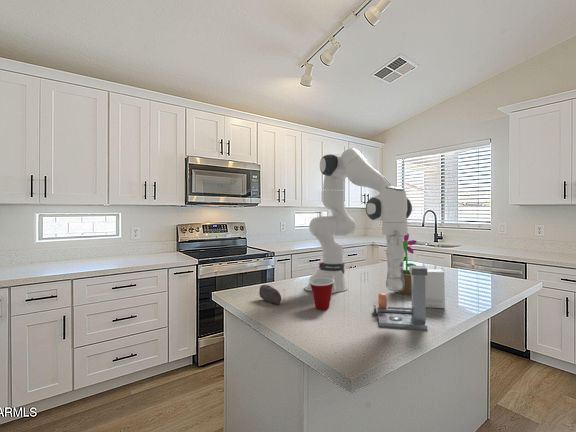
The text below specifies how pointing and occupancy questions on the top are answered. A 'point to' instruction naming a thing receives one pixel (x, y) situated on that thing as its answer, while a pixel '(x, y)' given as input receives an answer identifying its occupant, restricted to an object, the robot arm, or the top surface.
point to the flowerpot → (406, 272)
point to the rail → (393, 310)
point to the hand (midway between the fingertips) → (395, 267)
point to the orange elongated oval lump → (382, 301)
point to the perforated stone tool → (270, 294)
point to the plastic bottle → (394, 273)
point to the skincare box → (434, 289)
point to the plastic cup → (321, 292)
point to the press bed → (418, 305)
